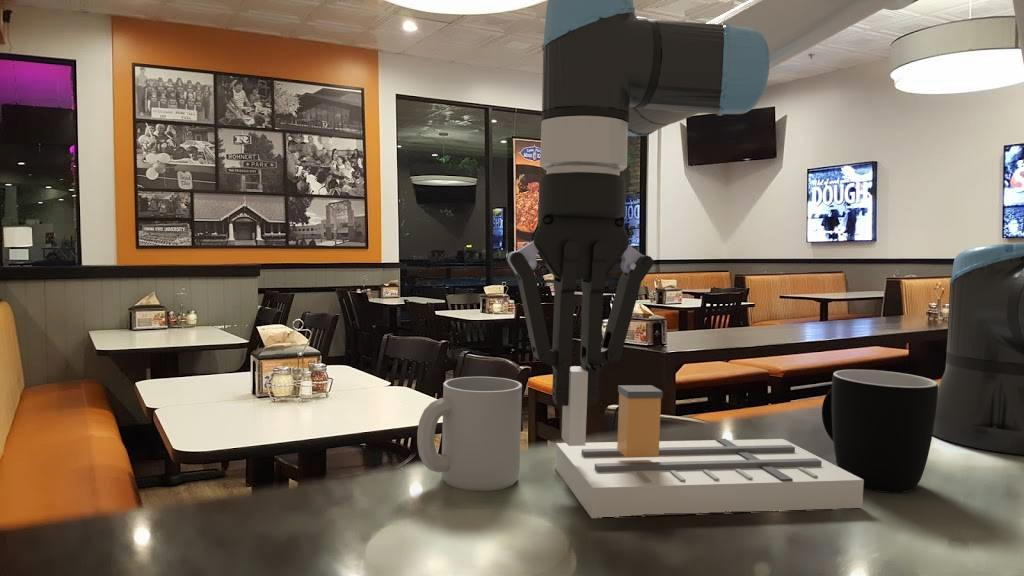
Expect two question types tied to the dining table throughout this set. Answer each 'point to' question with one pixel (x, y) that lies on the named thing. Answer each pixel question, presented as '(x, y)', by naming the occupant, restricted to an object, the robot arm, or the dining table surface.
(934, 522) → the dining table surface
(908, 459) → the mug
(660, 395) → the fader cap
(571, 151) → the robot arm
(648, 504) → the console
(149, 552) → the dining table surface
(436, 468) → the cup
